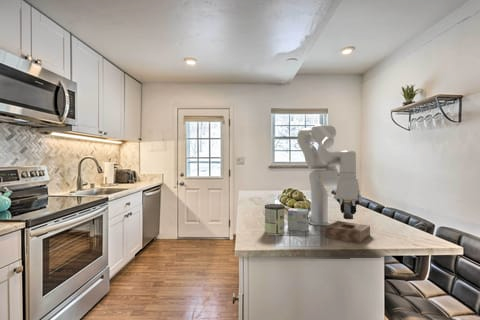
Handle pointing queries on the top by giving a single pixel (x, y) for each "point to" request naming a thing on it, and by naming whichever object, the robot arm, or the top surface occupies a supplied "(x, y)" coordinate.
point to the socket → (347, 231)
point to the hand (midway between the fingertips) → (348, 212)
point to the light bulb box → (298, 219)
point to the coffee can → (274, 219)
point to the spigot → (347, 209)
